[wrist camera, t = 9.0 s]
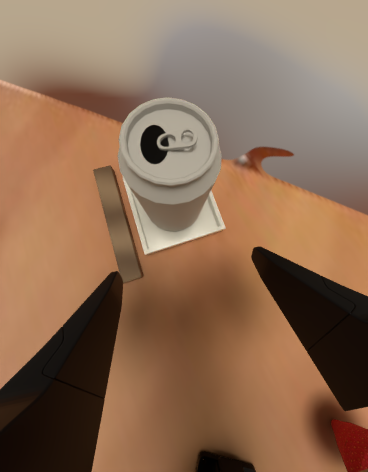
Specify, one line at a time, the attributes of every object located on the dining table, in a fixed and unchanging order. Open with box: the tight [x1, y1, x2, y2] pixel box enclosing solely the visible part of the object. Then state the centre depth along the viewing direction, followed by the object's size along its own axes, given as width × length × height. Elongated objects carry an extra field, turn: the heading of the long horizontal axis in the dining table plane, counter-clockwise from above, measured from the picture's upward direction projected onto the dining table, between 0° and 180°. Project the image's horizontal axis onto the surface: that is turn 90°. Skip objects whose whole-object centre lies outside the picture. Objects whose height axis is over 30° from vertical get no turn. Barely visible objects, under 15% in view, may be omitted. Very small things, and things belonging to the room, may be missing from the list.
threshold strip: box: [93, 166, 143, 283], centre depth 20 cm, size 16×2×1 cm, turn 18°
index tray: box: [123, 177, 226, 255], centre depth 20 cm, size 11×11×2 cm
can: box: [118, 98, 222, 232], centre depth 15 cm, size 8×8×12 cm
